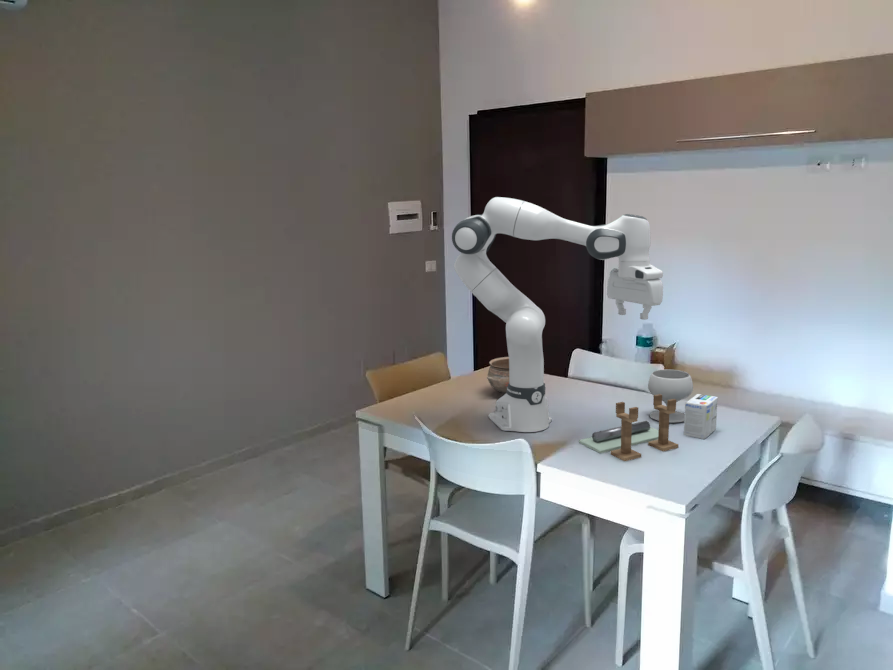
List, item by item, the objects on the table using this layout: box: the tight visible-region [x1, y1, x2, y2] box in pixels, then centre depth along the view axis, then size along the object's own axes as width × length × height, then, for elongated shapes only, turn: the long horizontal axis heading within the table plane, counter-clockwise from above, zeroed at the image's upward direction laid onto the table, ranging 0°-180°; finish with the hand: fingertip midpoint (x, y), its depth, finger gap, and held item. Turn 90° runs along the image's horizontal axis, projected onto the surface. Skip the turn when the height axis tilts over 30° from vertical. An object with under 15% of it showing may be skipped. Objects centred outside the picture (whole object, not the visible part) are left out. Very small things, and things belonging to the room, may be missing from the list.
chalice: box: [647, 368, 694, 424], centre depth 216 cm, size 14×14×15 cm
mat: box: [578, 426, 659, 454], centre depth 199 cm, size 10×26×1 cm, turn 116°
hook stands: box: [610, 394, 679, 462], centre depth 189 cm, size 6×20×15 cm, turn 116°
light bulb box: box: [683, 393, 719, 440], centre depth 203 cm, size 11×7×11 cm, turn 141°
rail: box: [591, 420, 651, 442], centre depth 200 cm, size 20×3×3 cm
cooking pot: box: [486, 356, 509, 395], centre depth 249 cm, size 25×19×12 cm
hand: (632, 317), depth 195 cm, fingers open, 8 cm apart
